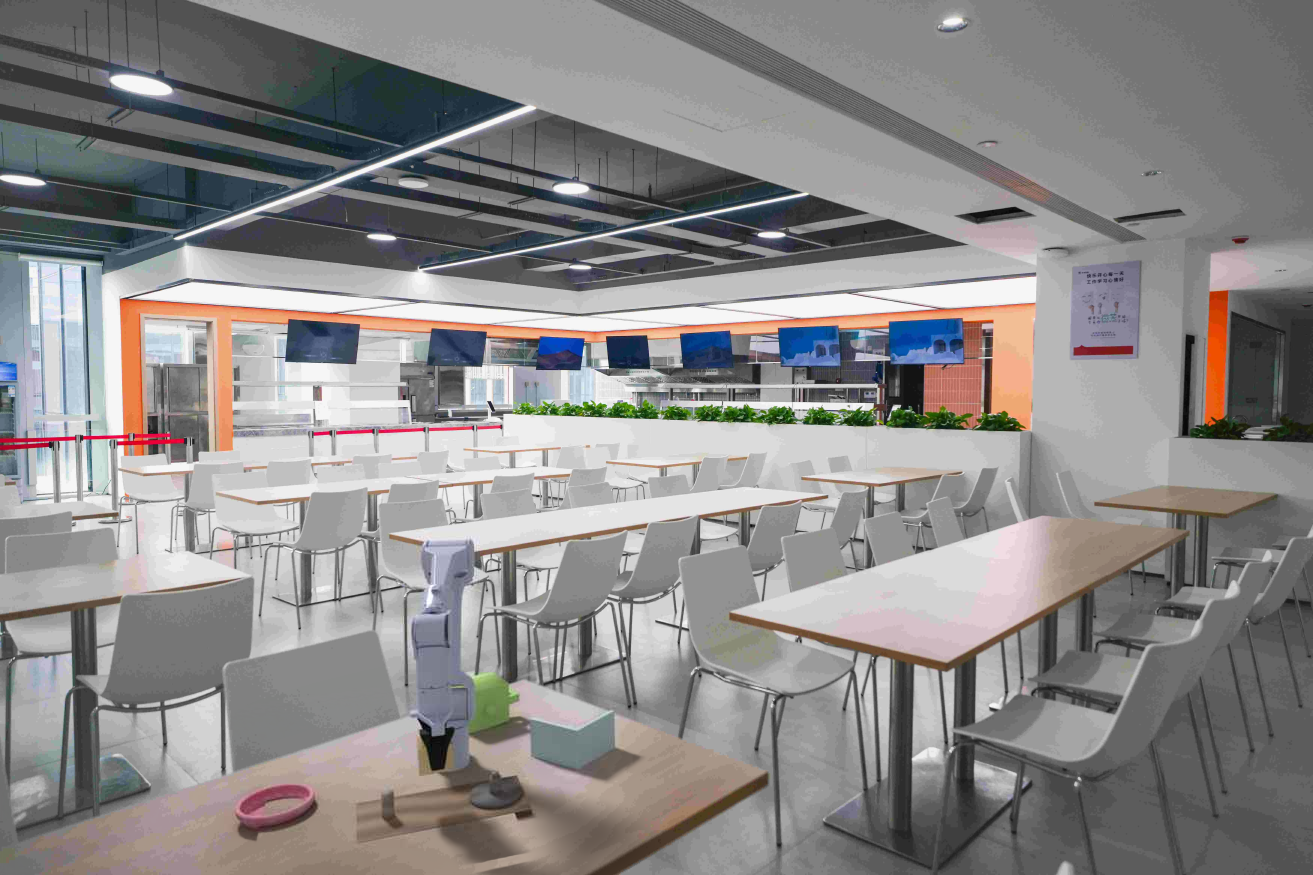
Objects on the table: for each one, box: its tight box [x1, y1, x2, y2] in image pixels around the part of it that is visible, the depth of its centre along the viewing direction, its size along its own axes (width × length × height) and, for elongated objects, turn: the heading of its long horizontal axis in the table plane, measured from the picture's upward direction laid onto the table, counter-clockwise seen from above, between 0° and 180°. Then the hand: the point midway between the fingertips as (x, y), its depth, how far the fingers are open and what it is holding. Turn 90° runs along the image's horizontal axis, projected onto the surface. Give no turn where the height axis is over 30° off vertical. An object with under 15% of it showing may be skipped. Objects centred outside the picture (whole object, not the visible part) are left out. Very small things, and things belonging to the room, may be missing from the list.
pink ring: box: [234, 782, 316, 831], centre depth 139 cm, size 12×12×3 cm
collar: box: [416, 736, 454, 777], centre depth 139 cm, size 6×6×4 cm
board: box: [356, 770, 533, 844], centre depth 139 cm, size 14×28×5 cm, turn 110°
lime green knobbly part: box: [451, 671, 520, 735], centre depth 178 cm, size 18×10×10 cm, turn 131°
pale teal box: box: [529, 709, 616, 770], centre depth 163 cm, size 12×12×8 cm
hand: (436, 761), depth 139 cm, fingers closed on collar, 6 cm apart
